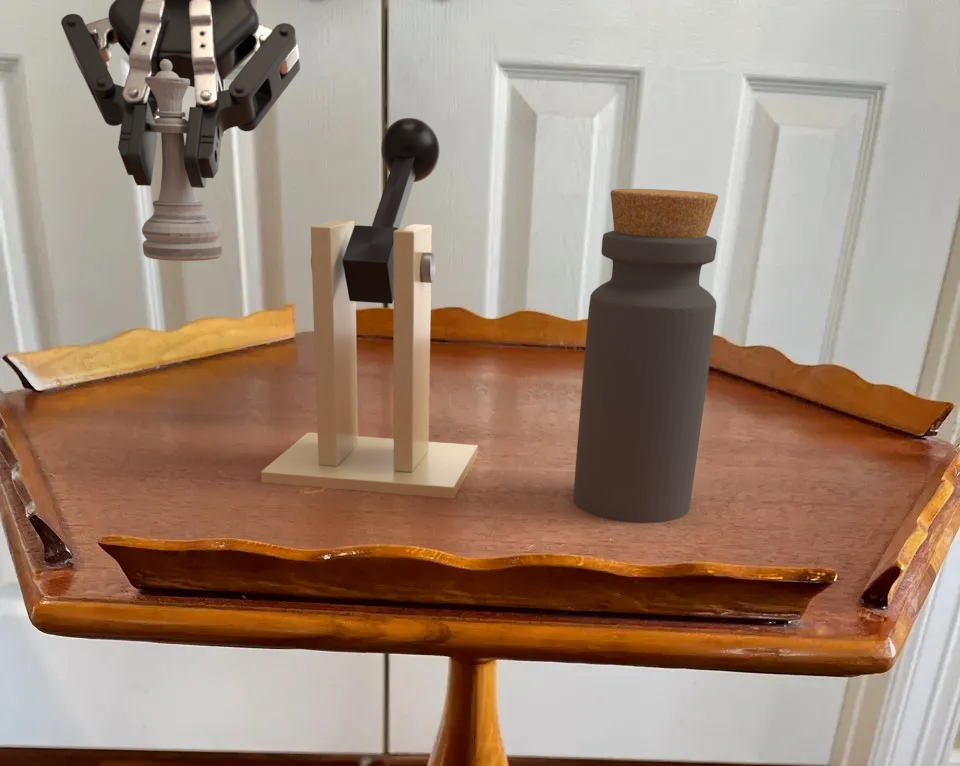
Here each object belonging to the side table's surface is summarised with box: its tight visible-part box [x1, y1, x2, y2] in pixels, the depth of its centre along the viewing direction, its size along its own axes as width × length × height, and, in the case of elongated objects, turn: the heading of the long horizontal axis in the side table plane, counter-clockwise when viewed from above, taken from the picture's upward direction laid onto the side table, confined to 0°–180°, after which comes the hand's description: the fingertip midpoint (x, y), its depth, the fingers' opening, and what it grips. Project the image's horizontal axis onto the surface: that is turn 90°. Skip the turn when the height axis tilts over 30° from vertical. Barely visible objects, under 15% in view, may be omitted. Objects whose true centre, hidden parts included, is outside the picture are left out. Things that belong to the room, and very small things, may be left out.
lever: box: [342, 117, 441, 305], centre depth 53 cm, size 13×3×3 cm, turn 171°
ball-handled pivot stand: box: [260, 219, 479, 499], centre depth 53 cm, size 8×10×13 cm
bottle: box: [572, 188, 719, 524], centre depth 48 cm, size 6×6×15 cm
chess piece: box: [141, 59, 223, 262], centre depth 57 cm, size 4×4×10 cm
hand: (167, 174), depth 56 cm, fingers closed on chess piece, 2 cm apart
